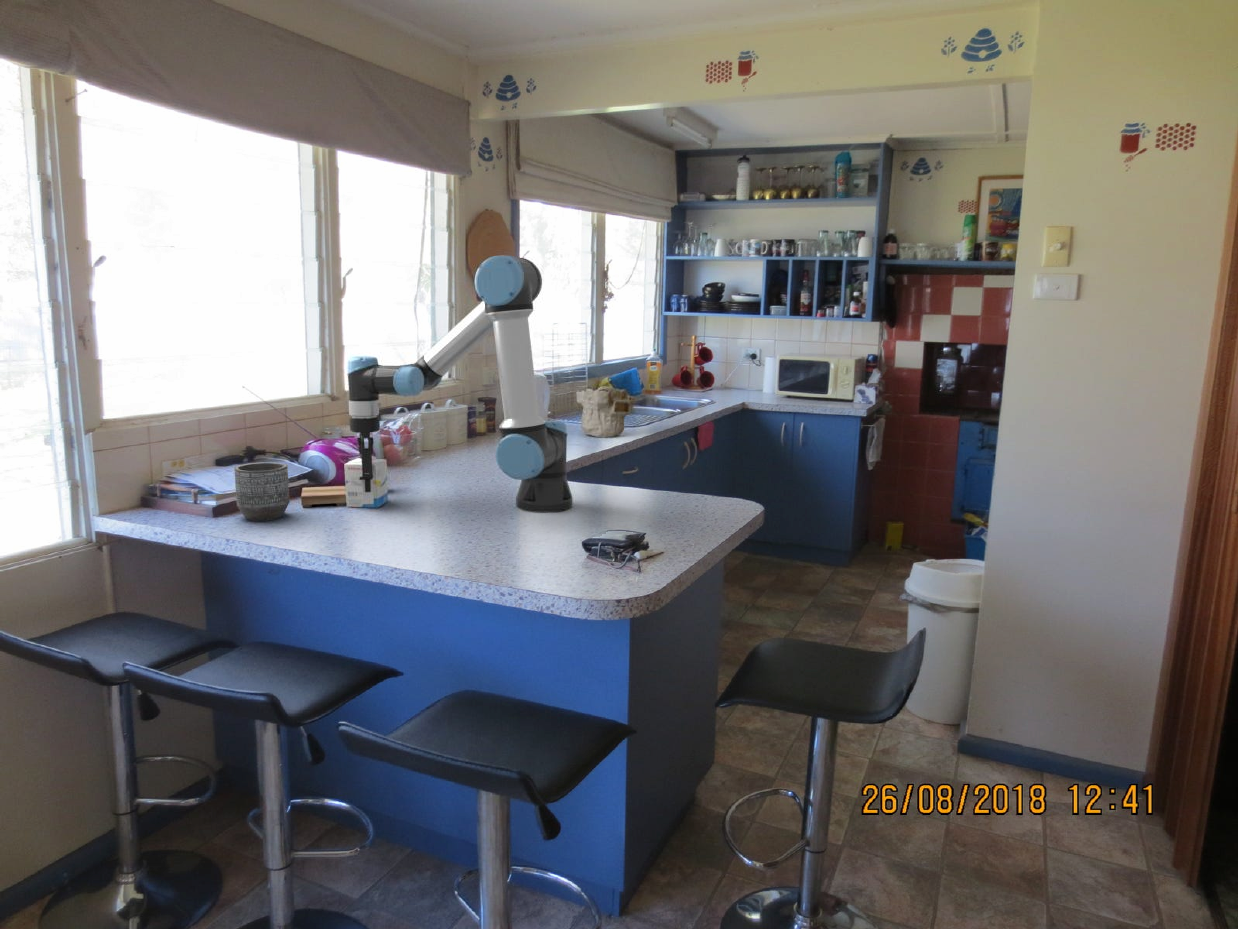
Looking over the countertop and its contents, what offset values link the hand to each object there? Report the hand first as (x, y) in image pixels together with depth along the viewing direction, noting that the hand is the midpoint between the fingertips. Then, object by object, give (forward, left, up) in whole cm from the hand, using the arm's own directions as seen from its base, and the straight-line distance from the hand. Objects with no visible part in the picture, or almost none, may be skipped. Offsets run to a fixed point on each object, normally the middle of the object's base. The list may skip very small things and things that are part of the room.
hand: (367, 499), depth 229 cm
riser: (+5, +11, -1) cm, 12 cm away
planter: (-8, +25, -2) cm, 26 cm away
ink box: (0, 0, -2) cm, 2 cm away
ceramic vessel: (+102, -98, -2) cm, 142 cm away
